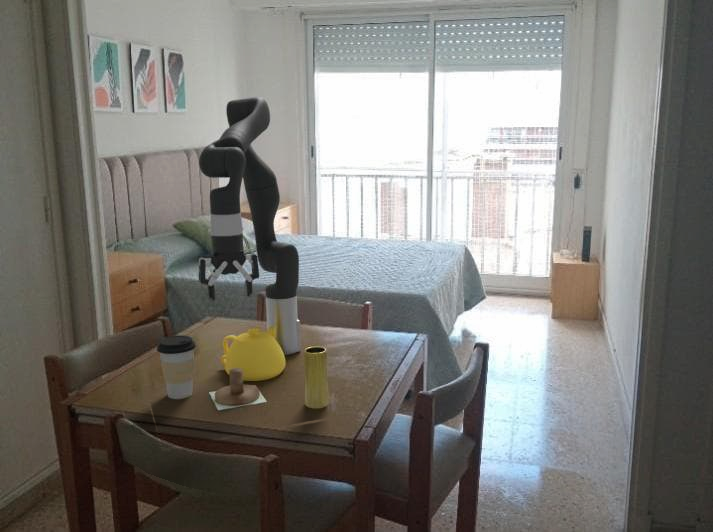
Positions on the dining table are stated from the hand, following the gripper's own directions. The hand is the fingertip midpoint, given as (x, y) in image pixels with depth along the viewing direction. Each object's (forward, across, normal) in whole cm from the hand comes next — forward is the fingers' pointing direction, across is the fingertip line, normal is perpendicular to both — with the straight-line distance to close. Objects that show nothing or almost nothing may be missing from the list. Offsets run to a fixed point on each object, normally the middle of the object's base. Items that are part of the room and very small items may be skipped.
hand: (230, 298), depth 166 cm
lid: (+26, 0, 0) cm, 26 cm away
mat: (+26, 0, 0) cm, 26 cm away
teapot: (+26, -9, -18) cm, 33 cm away
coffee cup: (+26, +13, -8) cm, 30 cm away
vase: (+26, -17, +12) cm, 34 cm away
